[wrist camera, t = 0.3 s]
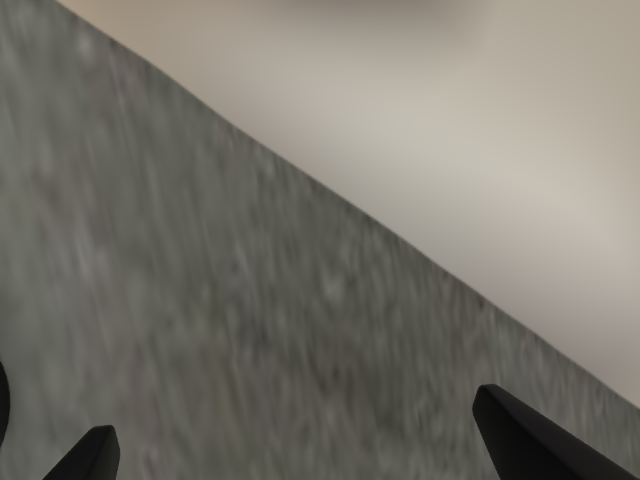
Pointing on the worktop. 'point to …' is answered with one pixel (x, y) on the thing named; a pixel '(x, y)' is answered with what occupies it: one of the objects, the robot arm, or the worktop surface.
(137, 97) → the worktop surface
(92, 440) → the robot arm
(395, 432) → the worktop surface
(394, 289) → the worktop surface
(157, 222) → the worktop surface
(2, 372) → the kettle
